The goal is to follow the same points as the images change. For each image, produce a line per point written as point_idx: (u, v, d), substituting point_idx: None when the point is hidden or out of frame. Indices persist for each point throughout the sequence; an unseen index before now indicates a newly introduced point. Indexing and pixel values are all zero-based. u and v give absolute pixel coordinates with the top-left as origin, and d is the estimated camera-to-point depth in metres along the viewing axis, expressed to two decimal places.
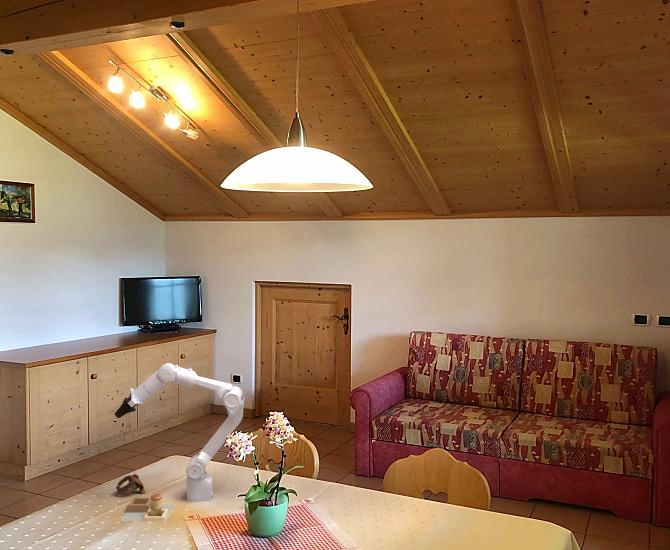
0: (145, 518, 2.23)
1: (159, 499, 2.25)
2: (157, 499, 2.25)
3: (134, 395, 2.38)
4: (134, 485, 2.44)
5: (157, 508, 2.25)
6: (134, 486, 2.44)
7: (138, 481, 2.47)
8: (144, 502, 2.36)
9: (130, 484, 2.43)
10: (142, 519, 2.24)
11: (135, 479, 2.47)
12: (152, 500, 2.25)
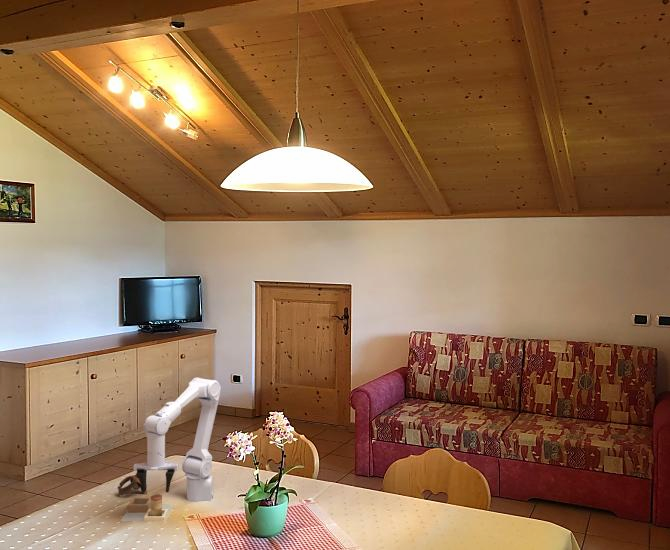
0: (145, 518, 2.23)
1: (159, 499, 2.25)
2: (157, 499, 2.25)
3: (163, 465, 2.24)
4: (136, 485, 2.44)
5: (157, 508, 2.25)
6: (136, 486, 2.44)
7: None
8: (144, 502, 2.36)
9: (132, 484, 2.43)
10: (142, 519, 2.24)
11: (137, 479, 2.46)
12: (152, 500, 2.25)
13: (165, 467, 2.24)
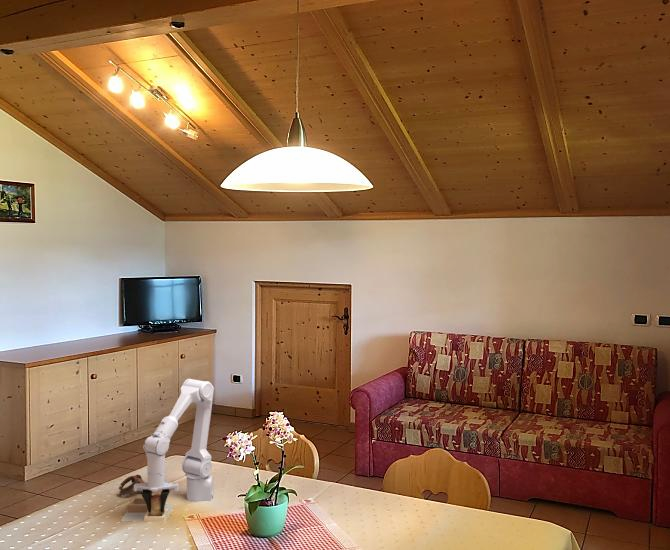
0: (145, 518, 2.23)
1: (159, 499, 2.25)
2: (157, 499, 2.25)
3: (163, 485, 2.25)
4: None
5: (157, 508, 2.25)
6: None
7: (141, 481, 2.46)
8: (144, 502, 2.36)
9: (134, 484, 2.43)
10: (142, 519, 2.24)
11: (138, 479, 2.46)
12: (152, 500, 2.25)
13: (165, 487, 2.24)
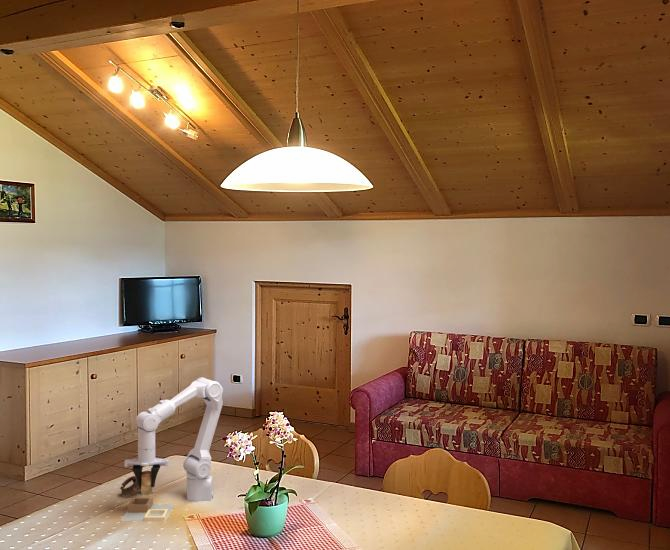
0: (145, 518, 2.23)
1: (150, 475, 2.28)
2: (148, 475, 2.28)
3: (153, 461, 2.28)
4: None
5: (148, 484, 2.28)
6: None
7: None
8: (144, 502, 2.36)
9: (135, 485, 2.43)
10: (142, 519, 2.24)
11: None
12: (143, 476, 2.28)
13: (155, 463, 2.28)
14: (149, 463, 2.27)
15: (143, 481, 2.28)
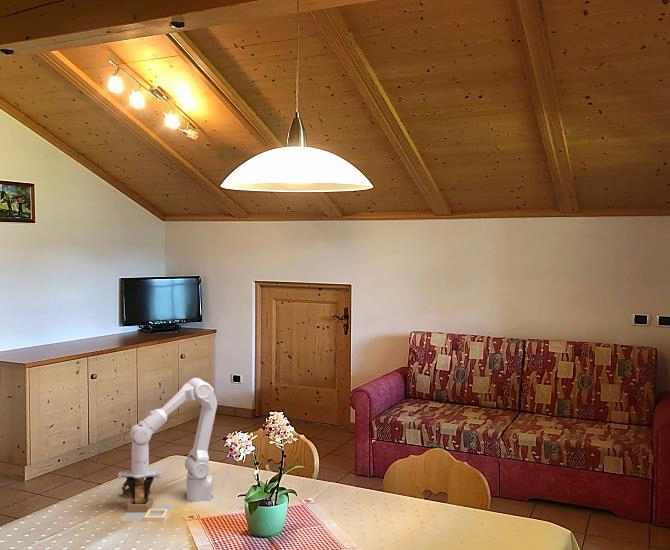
0: (145, 518, 2.23)
1: (143, 487, 2.32)
2: (141, 487, 2.31)
3: (146, 473, 2.31)
4: None
5: (141, 496, 2.31)
6: None
7: None
8: None
9: None
10: (142, 519, 2.24)
11: (141, 480, 2.46)
12: (136, 488, 2.31)
13: (149, 475, 2.31)
14: (142, 475, 2.30)
15: (136, 493, 2.31)
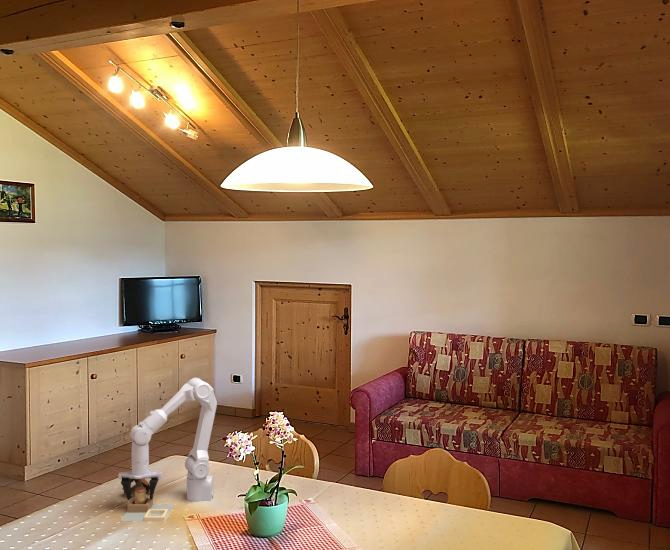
0: (145, 518, 2.23)
1: (143, 491, 2.32)
2: (141, 491, 2.31)
3: (146, 474, 2.31)
4: (141, 486, 2.43)
5: (141, 500, 2.31)
6: None
7: (145, 482, 2.46)
8: None
9: (137, 485, 2.43)
10: (142, 519, 2.24)
11: (142, 480, 2.46)
12: (136, 493, 2.31)
13: (149, 475, 2.31)
14: (142, 476, 2.30)
15: (137, 497, 2.31)
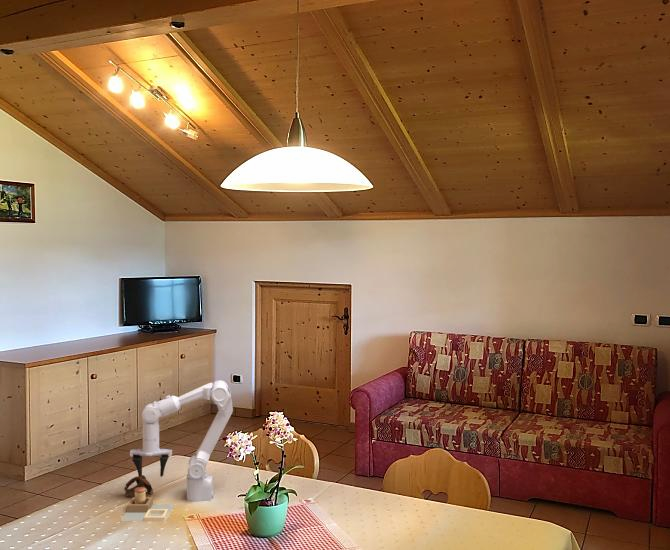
0: (145, 518, 2.23)
1: (143, 491, 2.32)
2: (141, 491, 2.31)
3: (157, 451, 2.39)
4: (143, 486, 2.43)
5: (141, 500, 2.31)
6: None
7: (147, 482, 2.46)
8: None
9: (139, 485, 2.43)
10: (142, 519, 2.24)
11: (143, 480, 2.46)
12: (136, 492, 2.31)
13: (159, 453, 2.38)
14: (153, 453, 2.37)
15: (136, 497, 2.31)
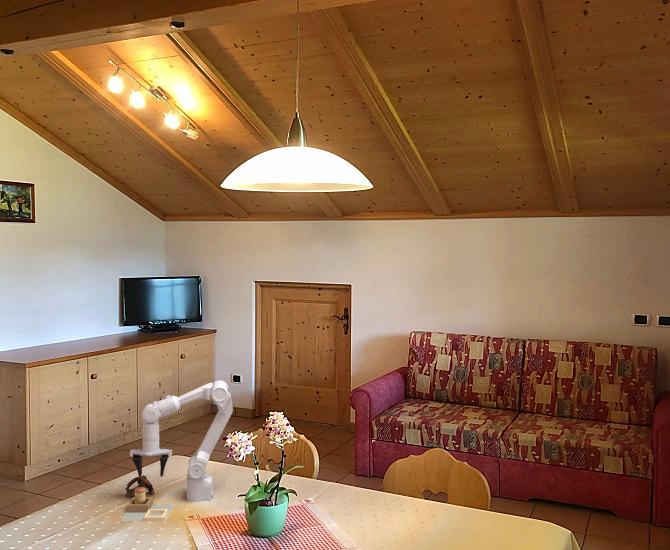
0: (145, 518, 2.23)
1: (143, 491, 2.32)
2: (141, 491, 2.31)
3: (157, 451, 2.39)
4: (144, 486, 2.43)
5: (141, 500, 2.31)
6: None
7: (148, 482, 2.46)
8: None
9: (140, 485, 2.42)
10: (142, 519, 2.24)
11: (145, 480, 2.46)
12: (136, 492, 2.31)
13: (159, 453, 2.38)
14: (153, 453, 2.37)
15: (136, 497, 2.31)
